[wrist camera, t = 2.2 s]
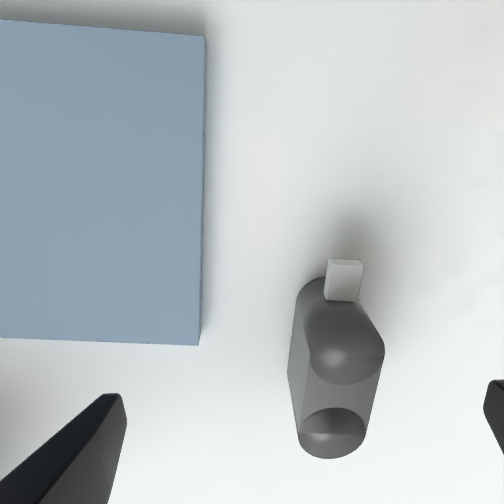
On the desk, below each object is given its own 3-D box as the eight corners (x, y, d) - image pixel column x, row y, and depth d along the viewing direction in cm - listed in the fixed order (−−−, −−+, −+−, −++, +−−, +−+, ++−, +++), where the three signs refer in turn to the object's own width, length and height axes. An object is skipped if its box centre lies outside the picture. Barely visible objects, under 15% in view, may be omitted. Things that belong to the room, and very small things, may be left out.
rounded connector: (337, 393, 25) (359, 459, 20) (284, 392, 24) (294, 458, 20) (365, 247, 21) (400, 285, 16) (303, 243, 21) (321, 281, 16)
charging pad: (200, 334, 23) (198, 345, 22) (-16, 324, 22) (-30, 336, 21) (206, 40, 17) (204, 36, 16) (-85, 17, 16) (-109, 10, 15)
